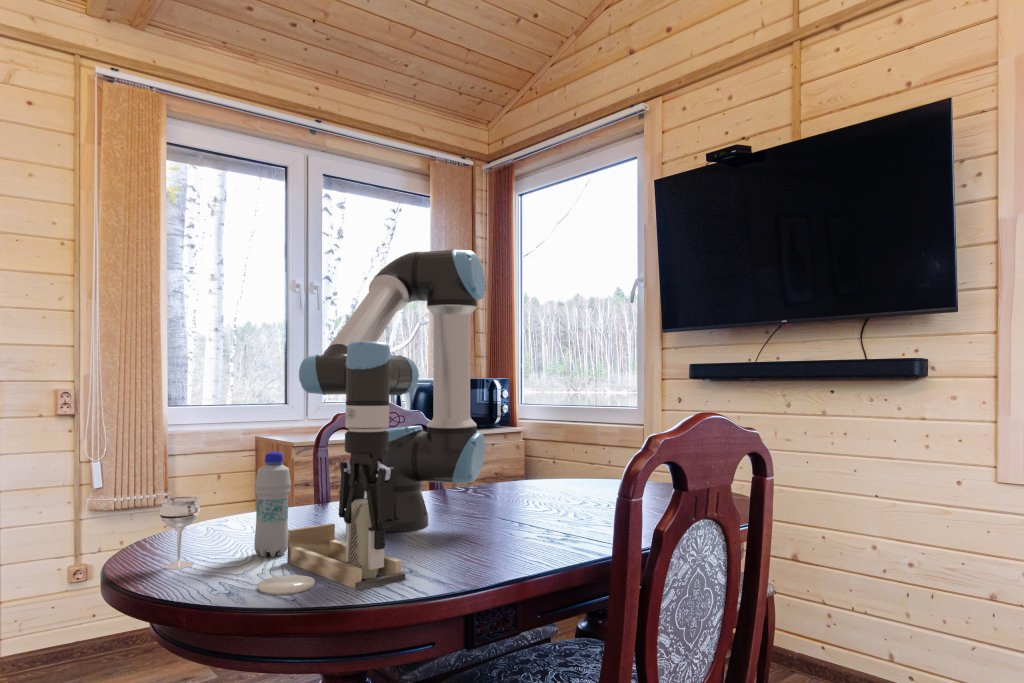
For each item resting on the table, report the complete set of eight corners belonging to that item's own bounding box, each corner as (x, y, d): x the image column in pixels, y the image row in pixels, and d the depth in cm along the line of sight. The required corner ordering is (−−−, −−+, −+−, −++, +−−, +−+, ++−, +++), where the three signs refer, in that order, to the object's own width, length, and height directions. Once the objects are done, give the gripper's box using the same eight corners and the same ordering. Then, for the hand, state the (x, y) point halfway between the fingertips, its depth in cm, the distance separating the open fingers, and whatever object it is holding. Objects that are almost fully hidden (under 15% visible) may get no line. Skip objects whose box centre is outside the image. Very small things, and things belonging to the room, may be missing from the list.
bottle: (296, 552, 139) (298, 450, 140) (274, 560, 133) (277, 453, 134) (268, 549, 141) (270, 449, 142) (245, 556, 135) (248, 452, 136)
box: (354, 572, 123) (354, 498, 124) (379, 571, 124) (379, 497, 124) (349, 580, 118) (350, 502, 119) (375, 579, 118) (376, 502, 119)
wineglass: (201, 567, 127) (203, 500, 128) (159, 572, 124) (162, 503, 125) (195, 559, 133) (197, 495, 134) (155, 563, 130) (158, 498, 130)
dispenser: (287, 562, 131) (288, 529, 131) (331, 554, 138) (331, 523, 138) (359, 590, 114) (359, 552, 114) (405, 579, 120) (405, 543, 121)
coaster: (248, 586, 116) (248, 582, 116) (298, 575, 122) (298, 572, 122) (273, 598, 109) (273, 594, 110) (325, 586, 116) (325, 582, 116)
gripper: (319, 427, 127) (316, 557, 125) (380, 433, 113) (377, 579, 111) (355, 426, 132) (353, 550, 130) (417, 431, 118) (415, 571, 117)
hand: (364, 563), depth 121 cm, fingers closed on box, 6 cm apart
